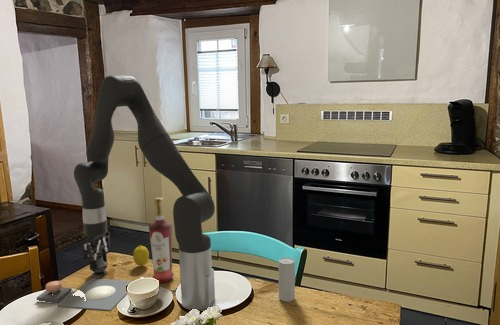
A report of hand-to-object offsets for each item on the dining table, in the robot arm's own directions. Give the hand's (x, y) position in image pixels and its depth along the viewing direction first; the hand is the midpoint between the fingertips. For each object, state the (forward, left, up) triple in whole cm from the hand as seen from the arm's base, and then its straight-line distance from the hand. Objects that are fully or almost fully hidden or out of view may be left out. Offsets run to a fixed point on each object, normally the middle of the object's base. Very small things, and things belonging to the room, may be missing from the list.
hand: (98, 265), depth 138 cm
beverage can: (-66, +8, -3) cm, 67 cm away
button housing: (+5, +17, -3) cm, 18 cm away
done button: (+5, +17, -2) cm, 18 cm away
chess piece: (0, 0, -3) cm, 3 cm away
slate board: (-8, +13, -3) cm, 16 cm away
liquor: (-24, +1, -3) cm, 24 cm away
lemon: (-12, -8, -3) cm, 15 cm away
